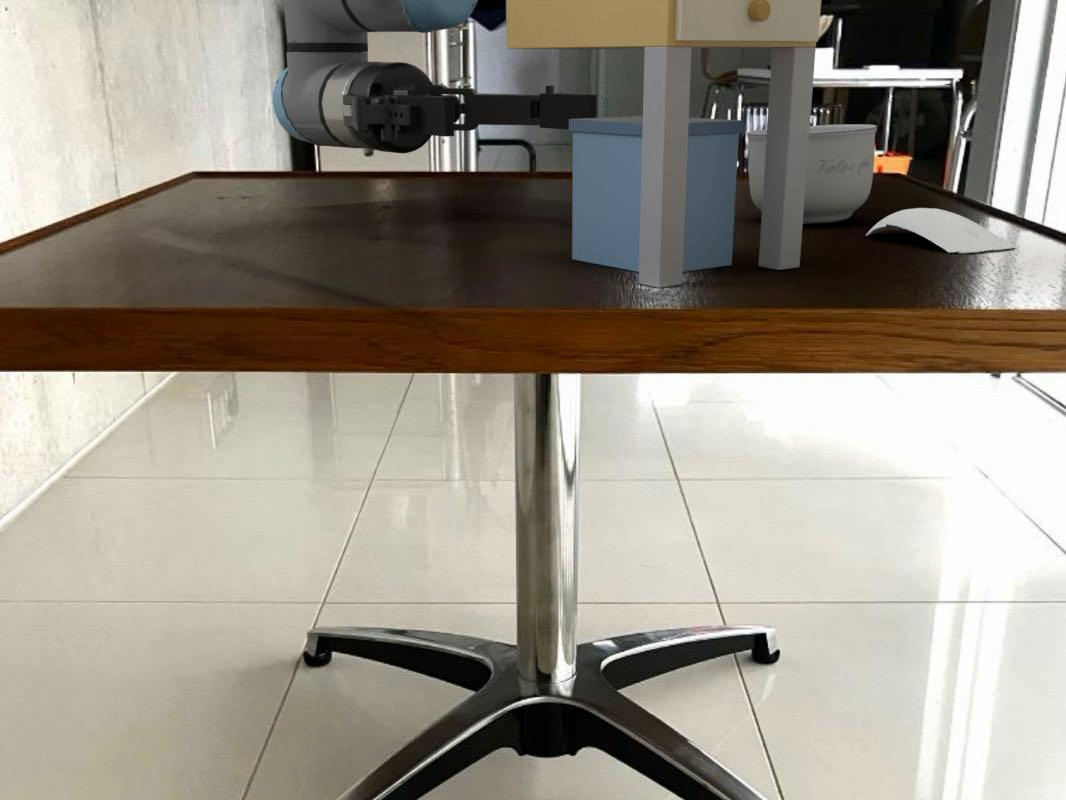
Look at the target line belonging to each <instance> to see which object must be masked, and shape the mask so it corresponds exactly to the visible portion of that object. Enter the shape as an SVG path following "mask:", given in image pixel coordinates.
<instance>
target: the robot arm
mask: <svg viewBox="0 0 1066 800" xmlns="http://www.w3.org/2000/svg"><path fill="white" fill-rule="evenodd" d="M477 4H478V0H283V9H284V21H285V22H284V23H285V30H286V42H287V43H286V48H287V49H286V51H287V52H286V65H287V67H286V68H285V69H284V70H283V71H282V72H281V73H280V74H279V76H278V77H277V79H276V82H275V83H274V84H275V85H274V88H273V91H272V107H273V111H274V114H275V117H276V119H277V121H278V123H279V124H280V126H281V128H282V129H283V130H284V131H286V133H287V134H289V135H290V136H291V137H293V138H294V139H296V140H299V141H302V142H306V143H309V144H313V145H315V146H317V147H334V148H348V149H362V153H363V155H364V156H365V157H366V158H367V157H372V156H374V153H375V151H379V152H383V153H384V152H385V153H393V154H409V153H413V152H415V151H417V150H419V149H421V148H422V147H423V146H425V145H426V144H427V143H428V142H429V140H430V139H431V138H432V136H435V137H455V131H456V132H458V131H459V132H469V131H474V130H477V128H478V126H483V125H484V126H539V128H540V129H551V130H552V129H554V130H568V131H569V119H583V118H597V107H598V105H597V104H598V103H597V102H598V95H597V94H583V93H562V92H556V93H555V85H550V84H549V85H545V92H544V93H543V92H542V93H539V94H538V93H531V94H530V93H482V92H480V93H478V91H477V90H476V89H475V88H473V87H448V86H447V85H445V84H433V82H432V80H431V79H430V77H429V76H428V75H427V74H426V73H425V72H424V71H423V70H422V69H421V68H419V67H417V66H416V65H414V64H412V63H408V62H404V61H403V62H401V61H369V54H368V53H369V39H368V38H369V36H368V33H422V34H426V33H428V34H429V33H432V32H435V31H436V32H437V31H442V30H443V31H445V30H448V29H453V28H457V27H458V26H460V25H462V24H463V23H464V22H466V21H467V20H468V18H469V17H470V16H471V14H473V12H474V10H475V8H476V6H477ZM458 95H461V96H463V97H464V102H461V99H460V97H459V96H458ZM462 115H464V119H465V120H464V123H457V122H458V121H459V120H460V118H461V116H462Z"/></svg>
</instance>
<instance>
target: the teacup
mask: <svg viewBox="0 0 1066 800" xmlns="http://www.w3.org/2000/svg"><path fill="white" fill-rule="evenodd" d="M877 130H878V125H875V124H865V123H864V124H862V123H861V124H855V123H853V124H851V123H850V124H849V123H848V124H845V123H844V124H822V125H819V124H818V125H810V130H809V144H808V157H807V171H806V184H805V198H804V212H803V225H808V224H809V225H810V224H825V223H826V224H827V223H835V222H842V221H844V220H847V219H849V218H850V217H852V216H853V213H854V212H855V211H857V210H858V209H859V208H861V206H863V205H864V203H865V202H866V201H867V200H868V199H869V196H870V194H871V190H872V186H873V180H874V179H873V178H874V167H875V147H876V146H875V145H876V133H877ZM746 137H747V139H748V182H749V184H748V185H749V194H750V197H751V201H752V203H753V205H754V206H755V207H756V208H757V209H758V210H759V211H761V212H762V202H763V185H764V169H765V153H766V137H767V128H764V129H754V130H749V131H747V133H746Z"/></svg>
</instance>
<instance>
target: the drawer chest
mask: <svg viewBox="0 0 1066 800" xmlns="http://www.w3.org/2000/svg"><path fill="white" fill-rule="evenodd" d="M821 8H822V0H505V17H506V19H505V21H506V23H505V24H506V27H505V28H506V49H507V50H509V49H511V50H513V49H514V50H515V49H517V50H518V49H519V50H520V49H521V50H523V49H524V50H526V49H527V50H529V49H530V50H532V49H533V50H534V49H535V50H538V49H540V50H544V49H545V50H549V49H550V50H552V49H553V50H555V49H556V50H559V49H560V50H563V49H564V50H566V49H567V50H585V49H586V50H605V49H606V50H611V49H612V50H644V56H643V57H644V60H643V61H644V62H643V92H642V93H643V96H642V99H643V101H642V116H643V131H642V169H641V208H640V246H639V272H638V284H639V285H643V286H647V287H648V286H649V287H654V288H658V289H661V288H669V287H674V286H675V287H676V286H681V285H683V279H684V278H683V277H684V275H683V274H684V272H683V253H684V227H685V201H686V176H687V150H688V125H689V118H690V97H691V95H690V94H691V74H692V73H691V72H692V71H691V70H692V49H746V48H747V49H753V48H754V49H756V48H757V49H758V48H771V57H770V72H769V74H770V75H769V90H768V104H767V105H768V106H767V121H766V129H767V137H766V153H765V169H764V185H763V202H762V211H761V218H760V219H761V221H760V234H759V251H758V252H759V254H758V267H759V268H765V269H770V270H776V271H783V270H790V269H796V268H800V265H801V264H800V263H801V252H802V250H801V249H802V240H803V239H802V238H803V237H802V236H803V225H804V224H803V212H804V198H805V184H806V171H807V157H808V144H809V130H810V126H811V117H812V101H813V91H814V90H813V88H814V75H815V62H816V61H815V60H816V47H817V43H818V42H819V37H820V22H821V21H820V20H821V10H822V9H821Z"/></svg>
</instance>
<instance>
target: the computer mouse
mask: <svg viewBox="0 0 1066 800" xmlns="http://www.w3.org/2000/svg"><path fill="white" fill-rule="evenodd" d="M894 230H895V231H896V230H907V231H909V232H912V233H915V234H916V235H918V236H920V237H923V238H925V239H927V240H928V241H930V242H931V243H933V244H935V245H936V246H938V247H939V248H941V249H943V250H944V251H946V252H947V253H958V254H971V253H974V254H975V253H980V252H986V251H1001V250H1006V249H1014V248H1015V249H1016V246H1015V245H1013V243H1010V242H1008V241H1007V240H1005V239H1004V238H1002V237H1000V236H999V235H997V234H996V233H994V232H993V231H990V230H989V229H987V228H986V227H984V226H982V225H980V224H978V223H976V222H975V221H973V220H971V219H969V218H968V217H965V216H962V215H960V214H958V213H955V212H953V211H952V212H951V211H948V210H944V209H940V208H929V207H915V208H907V209H902V210H901V209H900V210H899V211H896V212H894V213H891V214H889V215H887V216H885V217H884V218H882V219H881V220H879V221H878V222H877V223H876V224H874V225H873V226H872V227H871V228H870V229H869V231H867V232H866V234H865V237H867V236H870V235H871V234H874V233H879V232H887V231H894Z"/></svg>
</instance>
